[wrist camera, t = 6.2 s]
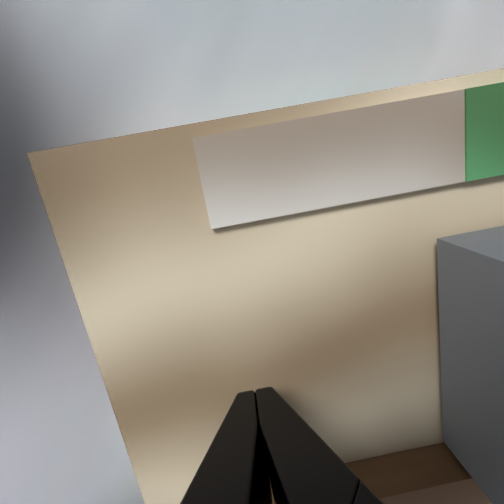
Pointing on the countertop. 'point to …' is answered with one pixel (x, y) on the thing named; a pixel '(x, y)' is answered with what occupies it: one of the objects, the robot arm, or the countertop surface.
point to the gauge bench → (282, 273)
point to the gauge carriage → (473, 353)
